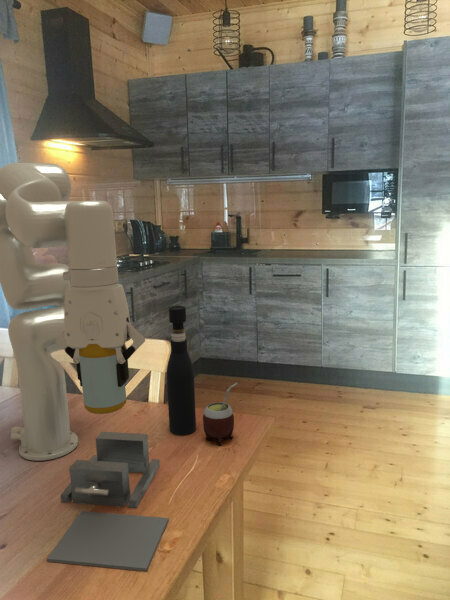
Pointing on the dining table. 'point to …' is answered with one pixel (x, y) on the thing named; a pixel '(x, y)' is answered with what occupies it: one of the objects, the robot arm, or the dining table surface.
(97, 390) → the bottle
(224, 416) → the mate gourd
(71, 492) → the vise
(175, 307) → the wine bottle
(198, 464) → the dining table surface
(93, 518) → the mat
